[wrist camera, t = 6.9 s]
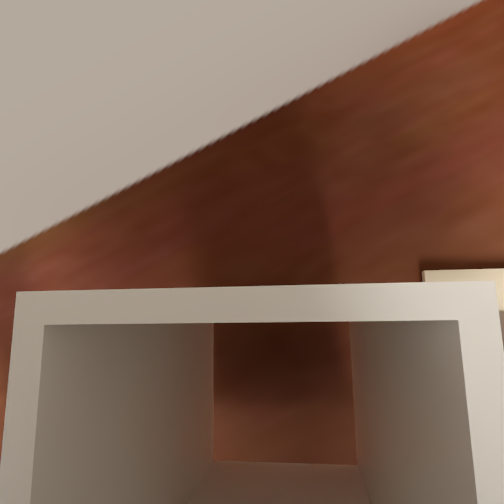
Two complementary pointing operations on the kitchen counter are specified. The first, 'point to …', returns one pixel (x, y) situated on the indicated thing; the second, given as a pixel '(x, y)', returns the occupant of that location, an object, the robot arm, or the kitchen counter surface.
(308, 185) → the kitchen counter surface
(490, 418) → the sleeve
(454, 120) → the kitchen counter surface
